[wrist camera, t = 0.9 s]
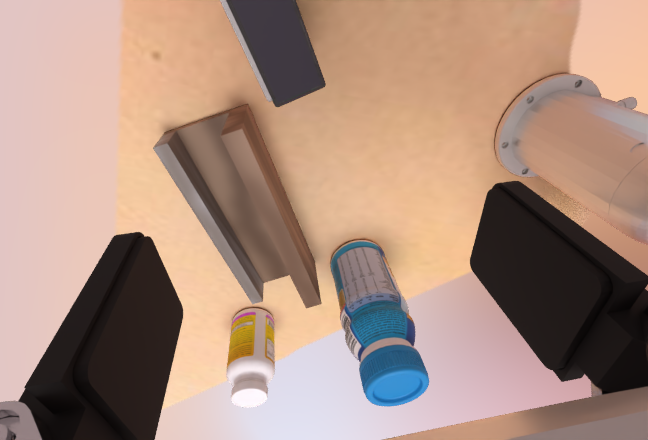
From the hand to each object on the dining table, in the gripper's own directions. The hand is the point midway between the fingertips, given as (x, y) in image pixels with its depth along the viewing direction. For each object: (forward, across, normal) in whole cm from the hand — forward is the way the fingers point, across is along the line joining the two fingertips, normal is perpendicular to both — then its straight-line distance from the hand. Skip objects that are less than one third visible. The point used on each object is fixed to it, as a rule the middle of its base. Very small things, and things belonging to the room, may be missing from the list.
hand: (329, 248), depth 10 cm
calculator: (+30, +1, -5) cm, 30 cm away
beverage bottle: (+29, -8, +28) cm, 41 cm away
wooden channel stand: (+30, +6, +16) cm, 35 cm away
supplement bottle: (+30, +9, +38) cm, 49 cm away
